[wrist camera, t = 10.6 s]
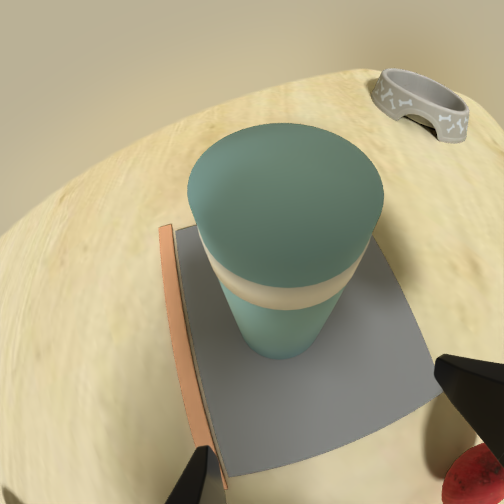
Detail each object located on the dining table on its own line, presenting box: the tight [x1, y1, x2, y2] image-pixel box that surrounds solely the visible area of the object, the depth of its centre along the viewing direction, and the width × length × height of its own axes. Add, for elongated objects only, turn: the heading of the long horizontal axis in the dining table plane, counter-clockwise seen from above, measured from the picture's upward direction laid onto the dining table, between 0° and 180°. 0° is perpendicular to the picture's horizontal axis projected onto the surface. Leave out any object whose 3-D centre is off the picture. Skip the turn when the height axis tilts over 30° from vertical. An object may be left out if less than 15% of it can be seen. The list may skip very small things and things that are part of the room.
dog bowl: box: [371, 68, 469, 143], centre depth 32 cm, size 17×18×5 cm
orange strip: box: [159, 224, 228, 490], centre depth 18 cm, size 22×1×1 cm, turn 15°
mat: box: [175, 225, 443, 477], centre depth 19 cm, size 16×20×1 cm
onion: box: [442, 443, 504, 504], centre depth 7 cm, size 6×6×8 cm
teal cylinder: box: [187, 123, 384, 360], centre depth 13 cm, size 6×6×13 cm
